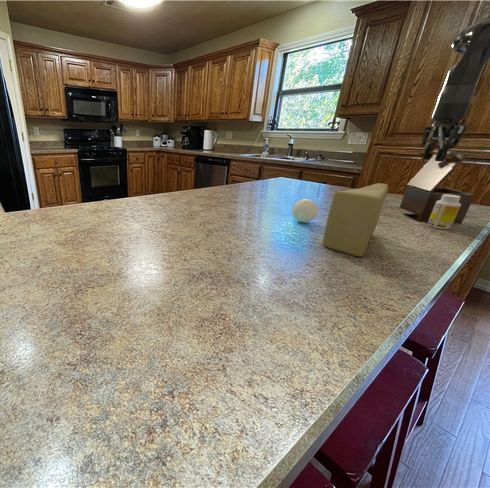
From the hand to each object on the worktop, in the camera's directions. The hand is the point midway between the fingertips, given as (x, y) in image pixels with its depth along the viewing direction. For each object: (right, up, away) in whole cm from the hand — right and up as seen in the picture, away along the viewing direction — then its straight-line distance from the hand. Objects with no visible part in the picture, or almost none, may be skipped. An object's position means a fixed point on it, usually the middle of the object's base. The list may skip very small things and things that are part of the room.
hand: (432, 159), depth 89 cm
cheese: (-36, -27, -15) cm, 48 cm away
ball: (-43, -21, +1) cm, 47 cm away
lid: (+2, -4, +1) cm, 4 cm away
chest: (+5, -18, +7) cm, 20 cm away
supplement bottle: (-1, -23, -2) cm, 23 cm away
